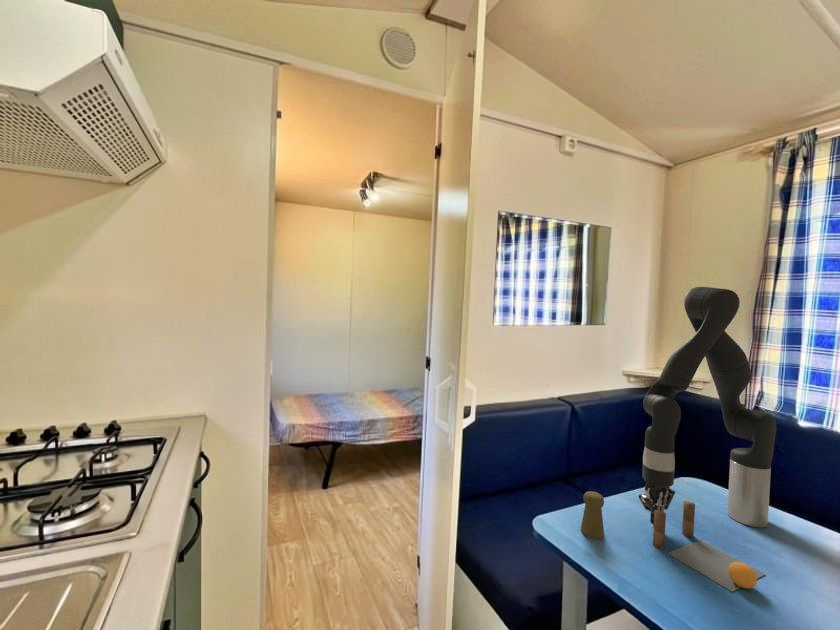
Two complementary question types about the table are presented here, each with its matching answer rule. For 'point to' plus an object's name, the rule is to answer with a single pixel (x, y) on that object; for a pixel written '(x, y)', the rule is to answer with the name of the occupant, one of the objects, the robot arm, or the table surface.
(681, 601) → the table surface
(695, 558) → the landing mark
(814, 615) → the table surface
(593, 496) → the brown pawn
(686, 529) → the post
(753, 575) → the ball
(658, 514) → the post
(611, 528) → the table surface
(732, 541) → the table surface
